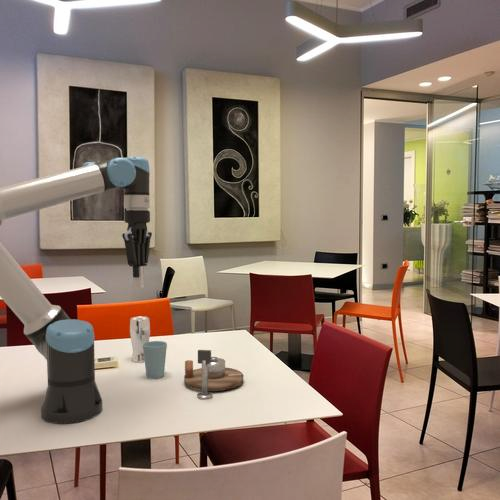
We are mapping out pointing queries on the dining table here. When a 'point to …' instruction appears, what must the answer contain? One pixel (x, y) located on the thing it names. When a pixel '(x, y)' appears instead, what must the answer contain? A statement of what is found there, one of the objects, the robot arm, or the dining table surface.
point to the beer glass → (139, 336)
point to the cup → (155, 358)
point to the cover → (216, 368)
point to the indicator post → (204, 373)
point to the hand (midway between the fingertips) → (138, 287)
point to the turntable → (195, 379)
